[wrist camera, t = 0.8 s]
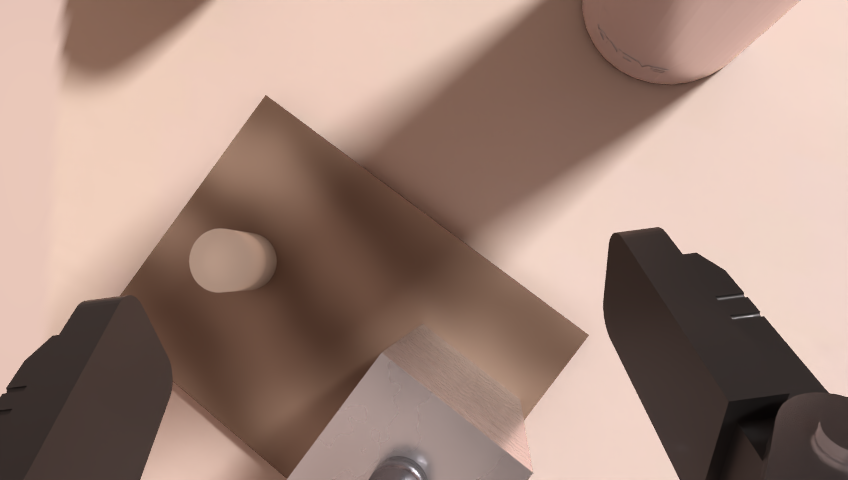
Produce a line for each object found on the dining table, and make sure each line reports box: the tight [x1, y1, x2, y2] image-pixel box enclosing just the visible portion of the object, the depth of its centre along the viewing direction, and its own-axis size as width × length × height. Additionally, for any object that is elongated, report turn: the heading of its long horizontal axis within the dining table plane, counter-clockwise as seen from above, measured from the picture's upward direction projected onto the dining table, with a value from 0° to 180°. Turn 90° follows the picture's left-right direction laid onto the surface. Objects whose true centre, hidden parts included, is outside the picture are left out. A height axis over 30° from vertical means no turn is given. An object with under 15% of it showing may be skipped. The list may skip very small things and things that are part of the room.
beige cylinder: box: [189, 228, 277, 293], centre depth 30 cm, size 3×3×4 cm
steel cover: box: [287, 324, 533, 480], centre depth 24 cm, size 6×6×12 cm
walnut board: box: [120, 95, 589, 478], centre depth 32 cm, size 16×22×1 cm
